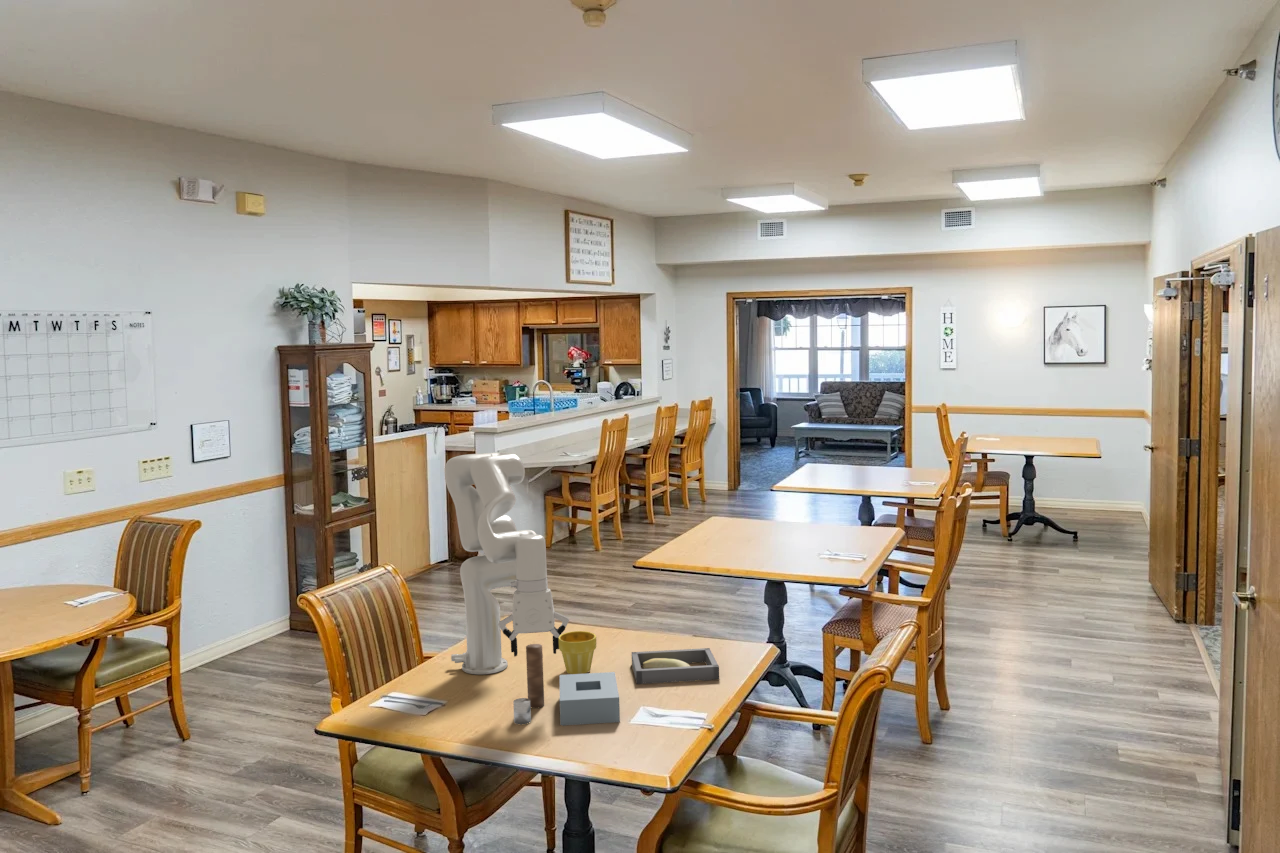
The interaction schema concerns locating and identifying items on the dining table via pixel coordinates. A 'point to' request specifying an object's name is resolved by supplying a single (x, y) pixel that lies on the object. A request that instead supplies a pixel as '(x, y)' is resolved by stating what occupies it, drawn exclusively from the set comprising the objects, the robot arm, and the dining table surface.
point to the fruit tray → (675, 673)
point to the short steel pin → (522, 711)
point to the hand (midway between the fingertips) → (535, 653)
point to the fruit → (663, 663)
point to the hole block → (589, 698)
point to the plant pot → (577, 651)
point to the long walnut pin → (535, 675)
